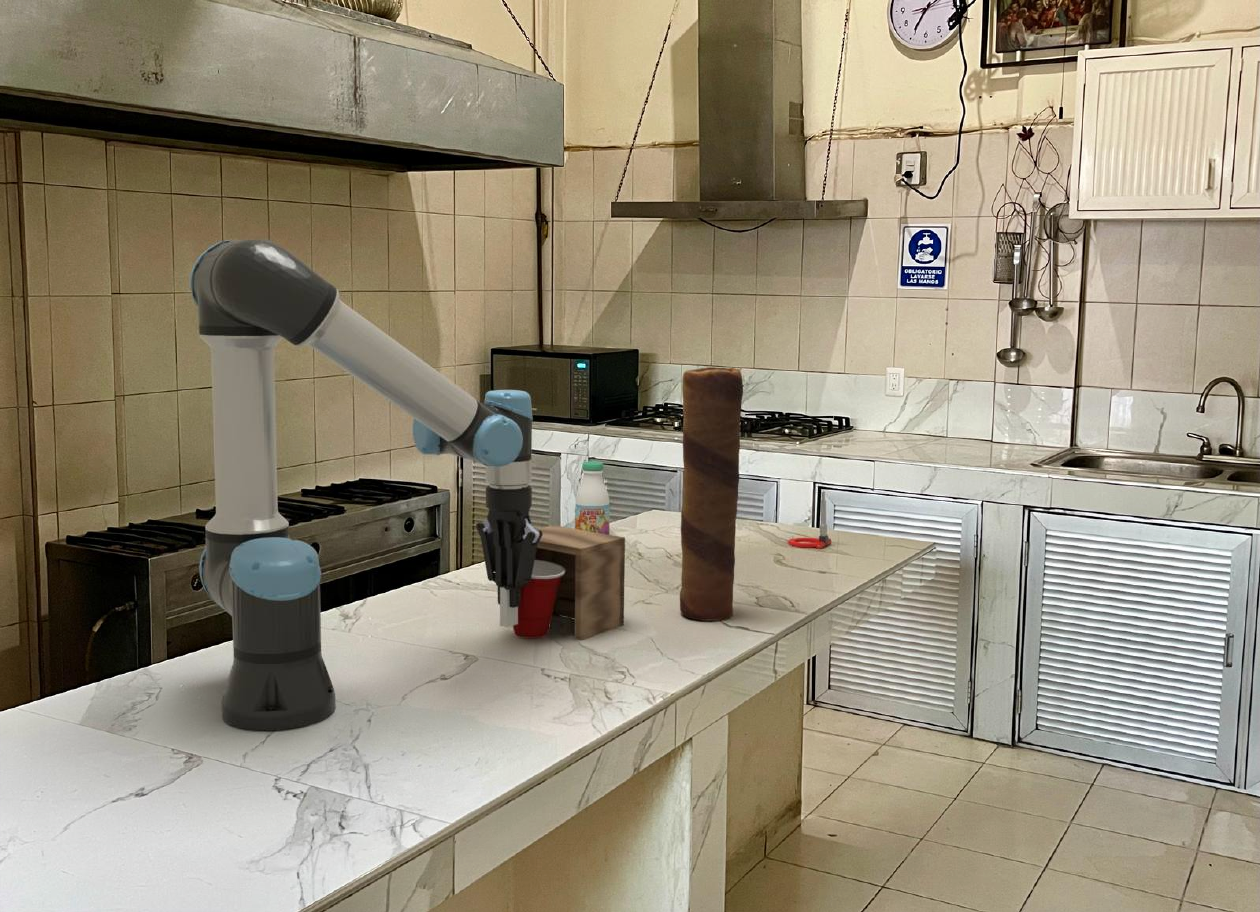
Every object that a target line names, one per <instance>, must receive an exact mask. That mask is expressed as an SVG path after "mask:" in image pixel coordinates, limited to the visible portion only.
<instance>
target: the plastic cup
mask: <svg viewBox="0 0 1260 912" xmlns="http://www.w3.org/2000/svg"><path fill="white" fill-rule="evenodd" d="M565 571H566V569H565V568H564V567H563V566H560V565H558V564H556V563H552V562H547V561H542V560H535V561H534V566H533V571H532V577H531V582H530V584H527V585H524V586H522V587H521V589H520V606H518V624H516V625H513V626H512V630H513V634H514V635H515V636H516V637H519V638H523V639H539V638H544V637H546V636H548V635H549V633H548V632H549V631H550V626H551V623H552V622H551V620H552V616H553V614H554V611H553V609H554V604H555V600H556V595H557V590H558V586H559V583H560V580H561V578H562V576H563V575H564V573H565Z"/></svg>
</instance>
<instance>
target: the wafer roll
mask: <svg viewBox="0 0 1260 912" xmlns="http://www.w3.org/2000/svg"><path fill="white" fill-rule="evenodd" d="M682 375H683V376H682V380H681V381H682V383H681V385H682V386H681V391H682V413H683V422H682V460H683V474H682V493H681V494H682V497H681V499H682V502H681V512H680V518H681V519H680V537H681V538H680V543H681V544H680V545H681V552H682V553H681V555H682V557H681V576H680V577H681V578H680V579H681V587H680V592H679V611H680V613H681V614H682V616H684V617H687V618H688V619H689V618H690V619H694V620H699V621H722V620H728V619H730V618H732V616H733V615H734V613H733V612H734V611H733V610H734V609H733V608H734V607H733V601H734V582H735V564H736V556H735V550H736V549H735V546H736V533H737V532H736V531H737V529H736V520H737V514H738V501H739V484H740V450H741V440H740V431H741V415H742V401H743V396H744V385H743V383H744V382H743V376H742V372H741V370H740V369H739V368H736V367H729V368H726V367H710V366H708V367H702V368H695V369H688V370H685V371H684V372H683V374H682Z"/></svg>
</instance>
